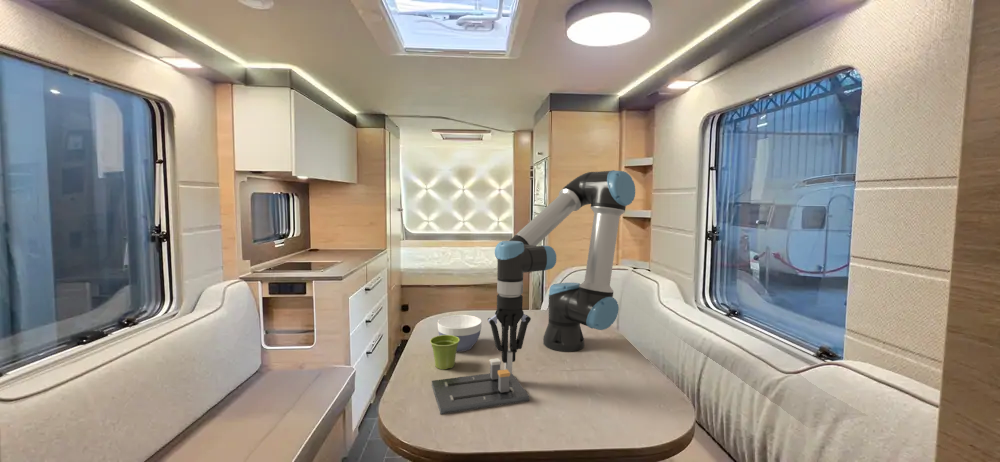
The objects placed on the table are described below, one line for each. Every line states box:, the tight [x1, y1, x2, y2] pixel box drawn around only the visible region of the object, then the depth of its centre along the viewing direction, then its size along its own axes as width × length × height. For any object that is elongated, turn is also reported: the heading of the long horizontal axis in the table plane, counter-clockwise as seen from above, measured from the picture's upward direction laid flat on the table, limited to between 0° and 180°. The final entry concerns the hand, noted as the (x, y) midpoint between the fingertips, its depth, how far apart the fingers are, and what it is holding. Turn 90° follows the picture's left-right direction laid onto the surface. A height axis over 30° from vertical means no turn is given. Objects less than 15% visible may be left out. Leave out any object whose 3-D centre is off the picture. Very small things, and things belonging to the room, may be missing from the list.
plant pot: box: [429, 335, 460, 370], centre depth 130 cm, size 9×9×9 cm
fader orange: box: [498, 369, 510, 393], centre depth 110 cm, size 3×2×5 cm
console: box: [431, 372, 530, 415], centre depth 113 cm, size 24×16×2 cm, turn 108°
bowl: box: [437, 314, 483, 352], centre depth 147 cm, size 16×16×10 cm
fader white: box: [489, 357, 502, 380], centre depth 118 cm, size 3×2×5 cm
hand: (508, 372), depth 119 cm, fingers closed
